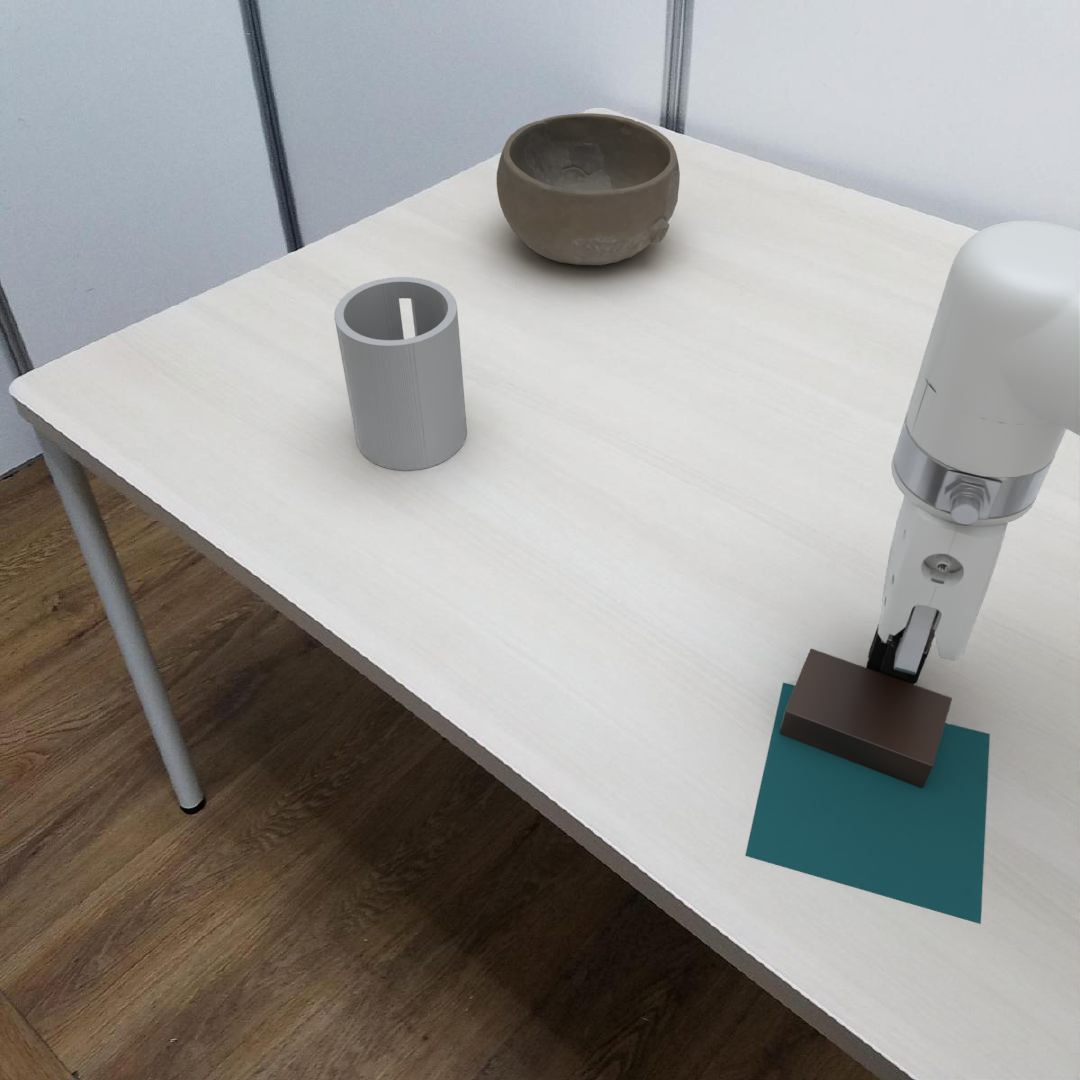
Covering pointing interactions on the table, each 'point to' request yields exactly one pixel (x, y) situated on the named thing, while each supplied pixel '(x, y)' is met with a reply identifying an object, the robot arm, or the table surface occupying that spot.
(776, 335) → the table surface
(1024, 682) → the table surface
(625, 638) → the table surface
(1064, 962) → the table surface
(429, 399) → the cup
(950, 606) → the robot arm
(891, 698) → the walnut block
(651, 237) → the bowl
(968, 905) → the mat
